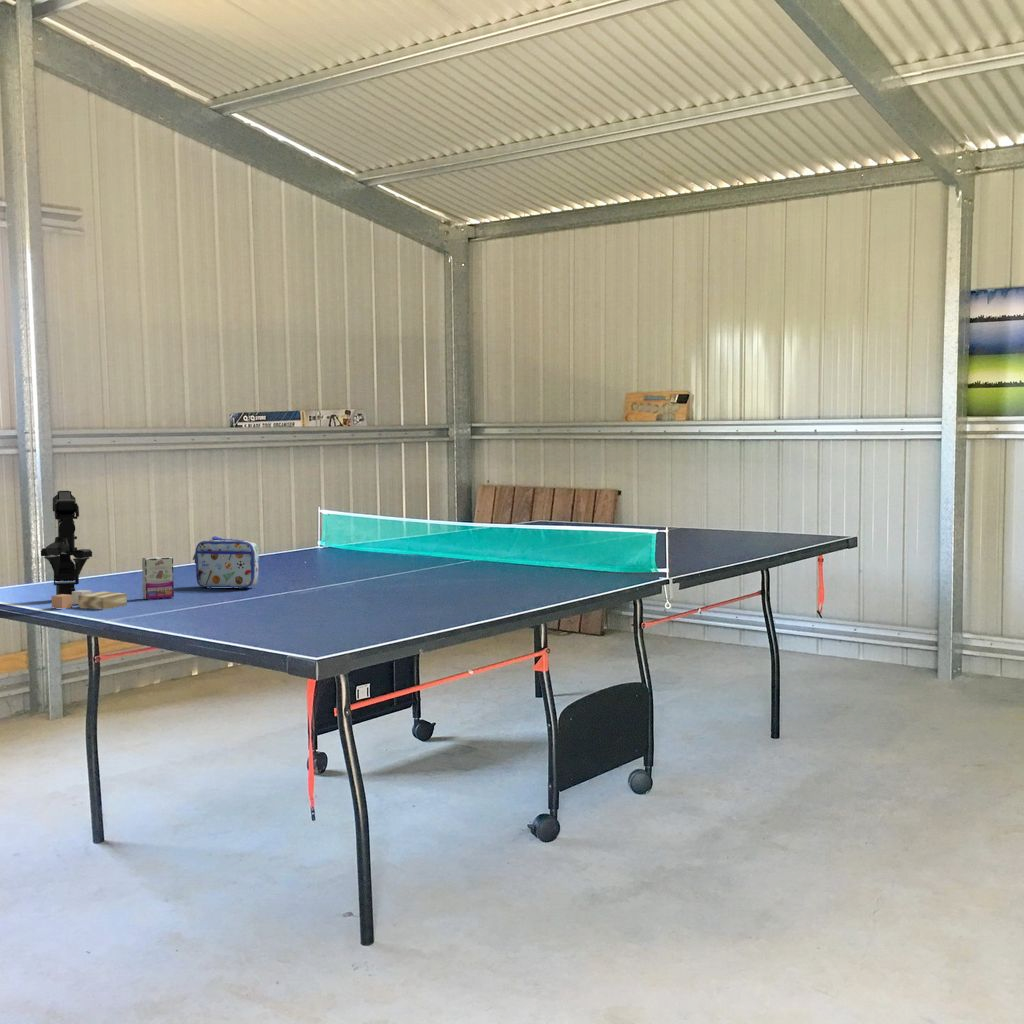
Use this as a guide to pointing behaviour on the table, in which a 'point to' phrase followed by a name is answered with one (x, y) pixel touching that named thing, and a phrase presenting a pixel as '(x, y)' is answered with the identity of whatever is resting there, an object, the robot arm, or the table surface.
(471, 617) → the table surface
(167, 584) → the candy bar box
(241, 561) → the lunch box
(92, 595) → the maple block
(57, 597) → the terracotta cube
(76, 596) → the white cube
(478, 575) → the table surface
